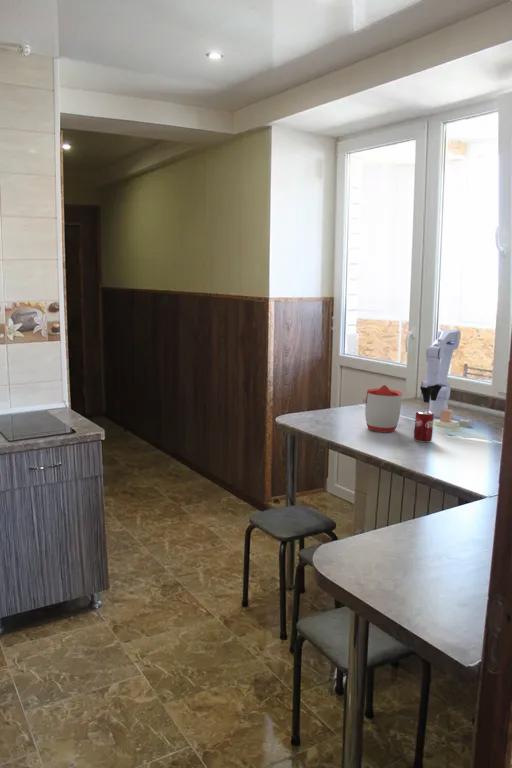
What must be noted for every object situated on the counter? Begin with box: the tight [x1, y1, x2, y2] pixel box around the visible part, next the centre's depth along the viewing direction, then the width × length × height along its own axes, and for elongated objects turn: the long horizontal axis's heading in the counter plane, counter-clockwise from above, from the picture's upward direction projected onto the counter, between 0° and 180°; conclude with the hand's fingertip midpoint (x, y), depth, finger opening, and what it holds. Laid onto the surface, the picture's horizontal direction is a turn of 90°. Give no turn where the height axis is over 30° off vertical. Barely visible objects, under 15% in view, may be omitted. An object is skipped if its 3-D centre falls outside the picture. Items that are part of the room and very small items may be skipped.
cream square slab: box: [433, 418, 460, 428], centre depth 293 cm, size 8×8×2 cm
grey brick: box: [459, 418, 471, 428], centre depth 294 cm, size 4×4×2 cm
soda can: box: [413, 410, 435, 443], centre depth 268 cm, size 7×7×12 cm
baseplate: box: [433, 419, 468, 433], centre depth 293 cm, size 16×16×1 cm
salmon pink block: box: [439, 409, 453, 422], centre depth 293 cm, size 4×4×5 cm
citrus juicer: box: [360, 384, 403, 433], centre depth 283 cm, size 16×17×20 cm
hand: (429, 401), depth 299 cm, fingers open, 7 cm apart
